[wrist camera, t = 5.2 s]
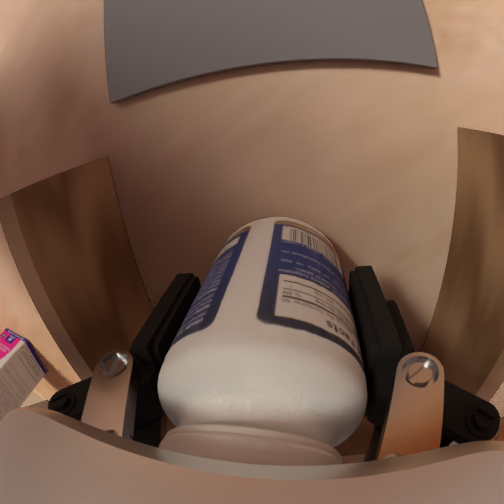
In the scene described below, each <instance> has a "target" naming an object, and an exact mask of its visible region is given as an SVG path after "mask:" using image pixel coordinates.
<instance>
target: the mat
mask: <svg viewBox="0 0 504 504" xmlns="http://www.w3.org/2000/svg"><path fill="white" fill-rule="evenodd" d="M104 39H105V56H106V69H107V80H108V89H109V97H110V103H116V102H119V101H122V100H124V99H127V98H130V97H132V96H135V95H138V94H141V93H144V92H147V91H150V90H153V89H156V88H159V87H163V86H166V85H169V84H173V83H176V82H180V81H184V80H188V79H192V78H196V77H200V76H204V75H209V74H213V73H218V72H223V71H229V70H234V69H240V68H246V67H253V66H260V65H268V64H277V63H288V62H302V61H327V60H348V61H373V62H386V63H396V64H405V65H413V66H419V67H426V68H432V69H435V68H438V66H437V60H436V55H435V50H434V45H433V40H432V36H431V32H430V28H429V24H428V20H427V17H426V13H425V10H424V7H423V3H422V0H104Z"/></svg>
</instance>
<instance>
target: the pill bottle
mask: <svg viewBox="0 0 504 504" xmlns="http://www.w3.org/2000/svg"><path fill="white" fill-rule="evenodd" d="M157 386H158V396H159V400H160V403H161V406H162V408H163V410H164V412H165V413H166V415H167V416H168V418H169V419H170V420H171V422H172V423H173V424H174V425H175V426H176V428H173V429H172V430H170V431H169V432H168V433H167V434H166V435H165V438H164V439H163V440H162V441H161V443H160V444H159V448H161V449H165V450H169V451H173V452H178V453H182V454H187V455H192V456H197V457H203V458H208V459H215V460H221V461H229V462H237V463H247V464H259V465H277V466H322V465H339V464H342V463H341V462H342V458H341V455H340V454H339V452H338V451H337V450H336V449H334V447H336V446H337V445H339V444H341V443H342V442H343V441H345V440H346V439H347V438H348V437H349V436H351V434H352V433H353V432H354V431H355V430H356V429H357V427H358V426H359V424H360V423H361V421H362V419H363V417H364V414H365V411H366V406H367V383H366V376H365V372H364V365H363V360H362V354H361V349H360V343H359V339H358V334H357V329H356V324H355V320H354V314H353V311H352V306H351V302H350V298H349V294H348V290H347V286H346V282H345V278H344V275H343V270H342V267H341V264H340V261H339V258H338V255H337V253H336V251H335V248H334V247H333V245H332V243H331V242H330V241H329V240H328V239H327V238H326V236H325V235H324V234H322V233H321V232H320V231H319V230H317V229H316V228H315V227H313V226H311V225H309V224H307V223H305V222H303V221H300V220H297V219H294V218H289V217H269V218H264V219H259V220H256V221H253V222H251V223H249V224H246V225H244V226H242V227H241V228H239V229H238V230H237V231H236V232H234V233H233V234H232V235H231V236H230V237H229V239H228V240H227V241H226V243H225V244H224V246H223V247H222V249H221V250H220V252H219V254H218V255H217V257H216V259H215V261H214V263H213V265H212V267H211V269H210V271H209V273H208V274H207V276H206V278H205V280H204V282H203V284H202V286H201V288H200V290H199V292H198V294H197V296H196V298H195V300H194V302H193V304H192V306H191V307H190V309H189V311H188V313H187V316H186V317H185V319H184V321H183V323H182V325H181V327H180V329H179V331H178V333H177V335H176V337H175V339H174V341H173V343H172V345H171V347H170V349H169V351H168V353H167V355H166V356H165V360H164V362H163V365H162V367H161V370H160V373H159V377H158V385H157Z"/></svg>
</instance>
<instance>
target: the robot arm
mask: <svg viewBox="0 0 504 504" xmlns="http://www.w3.org/2000/svg"><path fill="white" fill-rule="evenodd" d="M200 288H201V285H200V281H199V279H198V277H195V276H194V275H193V274H192V273H187V274H178V275H177V276H176V277H175V278H174V280H173V281H172V283H171V284H170V286H169V287H168V289H167V290H166V292H165V293H164V295H163V296H162V298H161V299H160V301H159V302H158V304H157V305H156V307H155V308H154V310H153V311H152V313H151V314H150V316H149V317H148V319H147V320H146V322H145V323H144V325H143V327H142V328H141V330H140V331H139V333H138V334H137V336H136V337H135V339H134V341H133V342H132V344H131V349H130V350H129V352H127V351H125V350H114V351H111V352H109V353H106V354H105V355H104V356H102V357H101V358H100V359H99V361H98V362H97V364H96V366H95V369H94V373H93V376H91V377H89V378H87V379H85V380H82V381H80V382H78V383H75V384H73V385H71V386H68V387H66V388H64V389H61V390H59V391H58V392H56V393H55V394H54V395H53V396H52V397H51V399H50V401H48V400H45V401H43V402H39V403H36V404H33V405H30V406H27V407H22V408H16V409H13V410H11V411H10V412H8V413H7V414H6V415H5V416H4V417H3V418H2V420H1V421H0V504H504V417H503V418H501V417H500V416H499V413H498V410H497V409H496V408H495V406H494V405H492V404H491V403H489V402H487V401H485V400H483V399H481V398H480V397H478V396H476V395H474V394H472V393H470V392H468V391H466V390H464V389H462V388H460V387H458V386H456V385H454V384H452V383H450V382H448V381H446V380H445V379H444V369H443V366H442V364H441V363H440V361H439V360H438V359H437V358H436V357H434V356H432V355H430V354H428V353H424V352H415V351H414V348H413V345H412V342H411V340H410V337H409V334H408V332H407V329H406V326H405V324H404V321H403V319H402V316H401V314H400V311H399V309H398V307H397V304H396V302H395V301H394V300H387V301H386V300H385V298H384V295H383V293H382V290H381V288H380V285H379V283H378V280H377V278H376V276H375V273H374V271H373V269H372V267H371V266H357V267H356V268H355V271H350V280H349V298H350V302H351V306H352V311H353V314H354V320H355V324H356V329H357V334H358V339H359V343H360V349H361V354H362V360H363V365H364V372H365V376H366V383H367V406H366V411H365V414H364V417H367V420H368V421H369V422H371V423H372V424H374V425H373V429H372V433H371V436H370V440H369V443H368V447H367V450H366V453H365V456H364V459H363V462H360V463H350V464H339V465H322V466H277V465H259V464H247V463H237V462H229V461H221V460H215V459H208V458H203V457H197V456H192V455H187V454H182V453H178V452H173V451H169V450H165V449H161V448H159V444H160V443H161V441H162V440H163V439H164V438H165V435H166V434H167V415H166V413H165V412H164V410H163V408H162V406H161V403H160V400H159V396H158V386H157V385H158V377H159V373H160V370H161V367H162V365H163V362H164V360H165V356H166V355H167V353H168V351H169V349H170V347H171V345H172V343H173V341H174V339H175V337H176V335H177V333H178V331H179V329H180V327H181V325H182V323H183V321H184V319H185V317H186V316H187V313H188V311H189V309H190V307H191V306H192V304H193V302H194V300H195V298H196V296H197V294H198V292H199V290H200Z"/></svg>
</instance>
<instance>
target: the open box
mask: <svg viewBox="0 0 504 504" xmlns="http://www.w3.org/2000/svg"><path fill="white" fill-rule="evenodd" d="M0 221H1V225H2V228H3V231H4V234H5V237H6V240H7V243H8V245H9V248H10V251H11V253H12V256H13V259H14V261H15V263H16V266H17V268H18V271H19V273H20V275H21V278H22V280H23V282H24V284H25V286H26V289H27V291H28V293H29V295H30V297H31V299H32V301H33V303H34V305H35V307H36V309H37V311H38V312H39V314H40V316H41V318H42V320H43V322H44V323H45V325H46V327H47V329H48V330H49V332H50V334H51V335H52V337H53V339H54V340H55V342H56V344H57V345H58V347H59V348H60V350H61V351H62V353H63V355H64V356H65V358H66V359H67V361H68V362H69V363H70V365H71V366H72V368H73V369H74V371H75V372H76V373H77V375H78V376H79V378H80V379H81V380H85V379H87V378H89V377H91V376H93V373H94V369H95V366H96V364H97V362H98V361H99V359H100V358H101V357H102V356H104V355H105V354H106V353H109V352H111V351H114V350H125V351H127V352H129V350H130V349H131V344H132V342H133V341H134V339H135V337H136V336H137V334H138V333H139V331H140V330H141V328H142V327H143V325H144V323H145V322H146V320H147V319H148V317H149V316H150V314H151V313H152V311H153V309H152V307H151V304H150V301H149V299H148V296H147V293H146V291H145V288H144V285H143V282H142V279H141V277H140V274H139V271H138V268H137V265H136V262H135V259H134V256H133V253H132V249H131V246H130V243H129V240H128V236H127V233H126V229H125V226H124V222H123V219H122V215H121V211H120V208H119V204H118V200H117V196H116V192H115V188H114V183H113V179H112V175H111V170H110V165H109V161H108V157H106V158H103V159H100V160H97V161H93V162H90V163H87V164H84V165H81V166H79V167H76V168H73V169H70V170H67V171H65V172H62V173H59V174H57V175H54V176H51V177H49V178H46V179H44V180H41V181H39V182H37V183H34V184H32V185H30V186H27V187H25V188H23V189H21V190H18V191H16V192H14V193H12V194H10V195H8V196H6V197H4V198H2V199H0ZM421 352H424V353H428V354H430V355H432V356H434V357H436V358H437V359H438V360H439V361H440V363H441V364H442V366H443V369H444V379H445V380H446V381H448V382H450V383H452V384H454V385H456V386H458V387H460V388H462V389H464V390H466V391H468V392H470V393H472V394H474V395H476V396H478V397H480V398H481V399H483V400H485V401H487V402H489V401H490V399H491V398H492V397H493V395H494V394H495V392H496V391H497V390H498V388H499V387H500V385H501V384H502V383H503V381H504V136H503V135H499V134H494V133H489V132H484V131H478V130H472V129H466V128H459V127H458V179H457V194H456V205H455V214H454V223H453V230H452V236H451V243H450V249H449V254H448V259H447V264H446V269H445V274H444V278H443V282H442V286H441V290H440V294H439V298H438V302H437V305H436V309H435V312H434V316H433V319H432V322H431V325H430V328H429V331H428V334H427V337H426V340H425V343H424V346H423V349H422V351H421ZM373 425H374V424H372V423H371V422H369V421H368V420H367V417H363V419H362V421H361V423H360V424H359V426H358V427H357V429H356V430H355V431H354V432H353V433H352V434H351V436H349V437H348V438H347V439H346V440H345V441H343V442H342V443H341V444H339V445H337V446H336V447H334V449H336V450H337V451H338V452H339V454H340V455H341V458H342V462H341V463H342V464H350V463H360V462H363V459H364V456H365V453H366V450H367V447H368V443H369V440H370V436H371V433H372V429H373ZM173 428H176V426H175V425H174V424H173V423H172V422H171V420H170V419H169V418H168V416H167V433H168V432H169V431H170V430H172V429H173Z"/></svg>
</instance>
